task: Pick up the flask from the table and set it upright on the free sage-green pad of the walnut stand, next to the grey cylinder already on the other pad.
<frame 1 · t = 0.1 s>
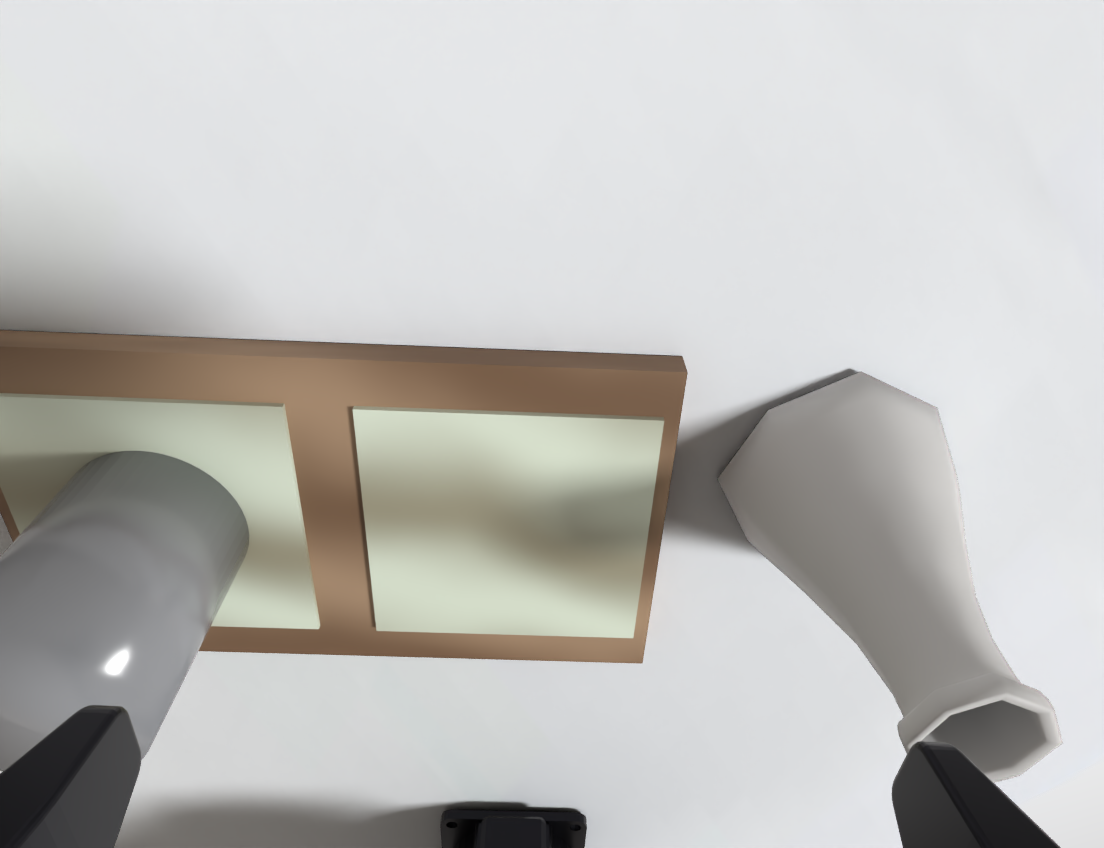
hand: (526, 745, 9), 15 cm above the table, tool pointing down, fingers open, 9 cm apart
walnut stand: (342, 506, 25), on the table
grey cylinder: (158, 524, 24), point 1 cm above the table, touching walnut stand
flask: (832, 468, 25), on the table
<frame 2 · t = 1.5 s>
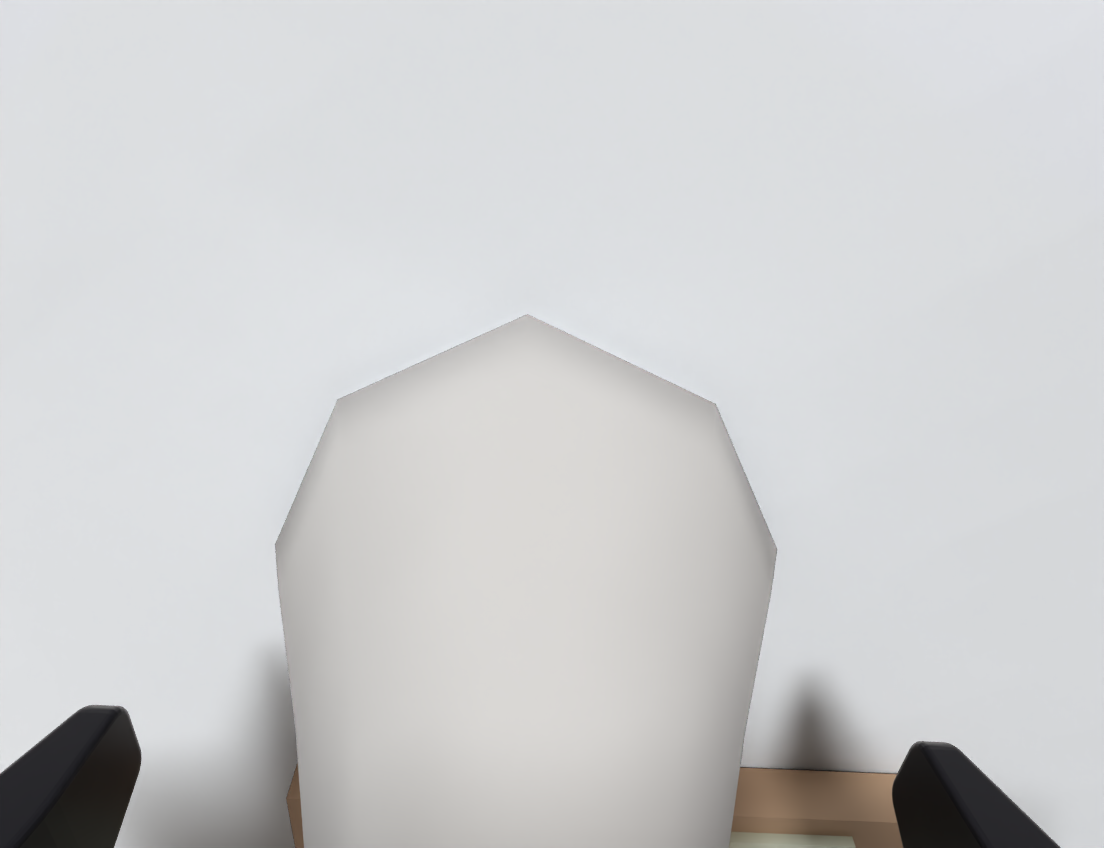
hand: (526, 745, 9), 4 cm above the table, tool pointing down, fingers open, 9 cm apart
flask: (527, 526, 12), on the table
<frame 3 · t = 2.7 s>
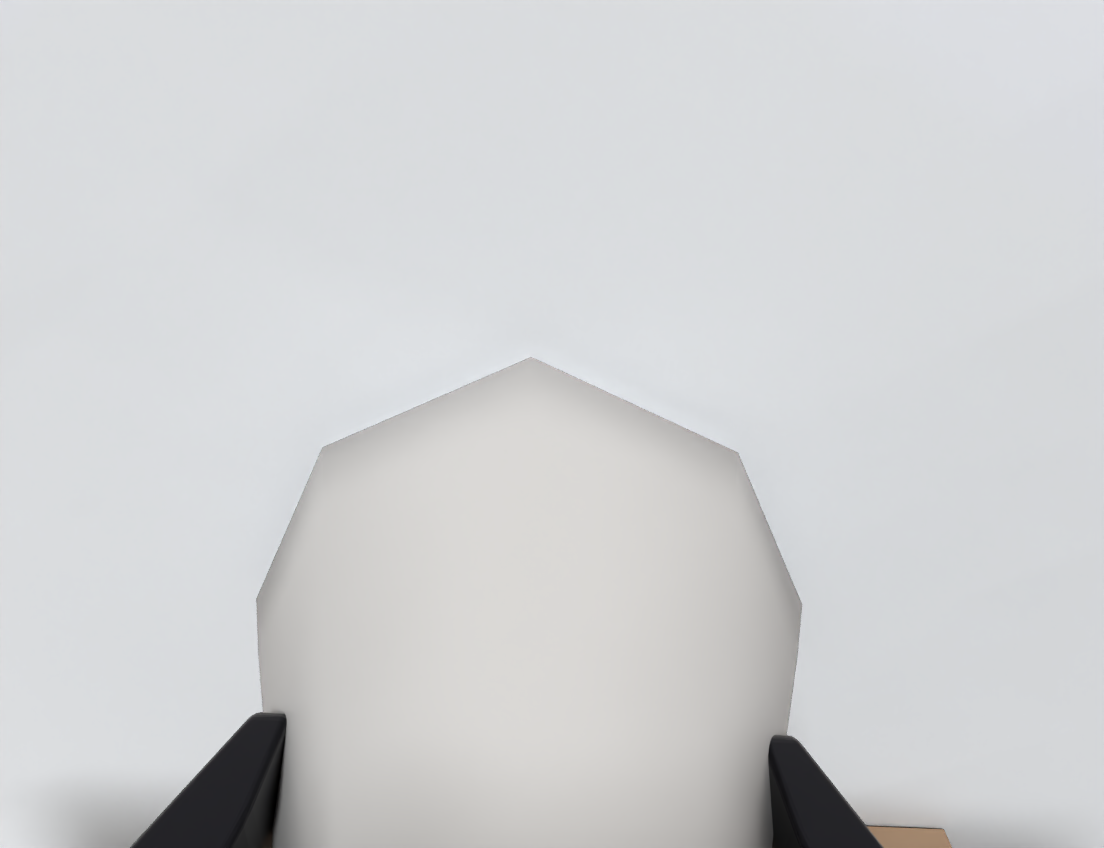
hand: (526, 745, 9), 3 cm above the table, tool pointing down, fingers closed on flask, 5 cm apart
flask: (531, 577, 11), on the table, touching gripper
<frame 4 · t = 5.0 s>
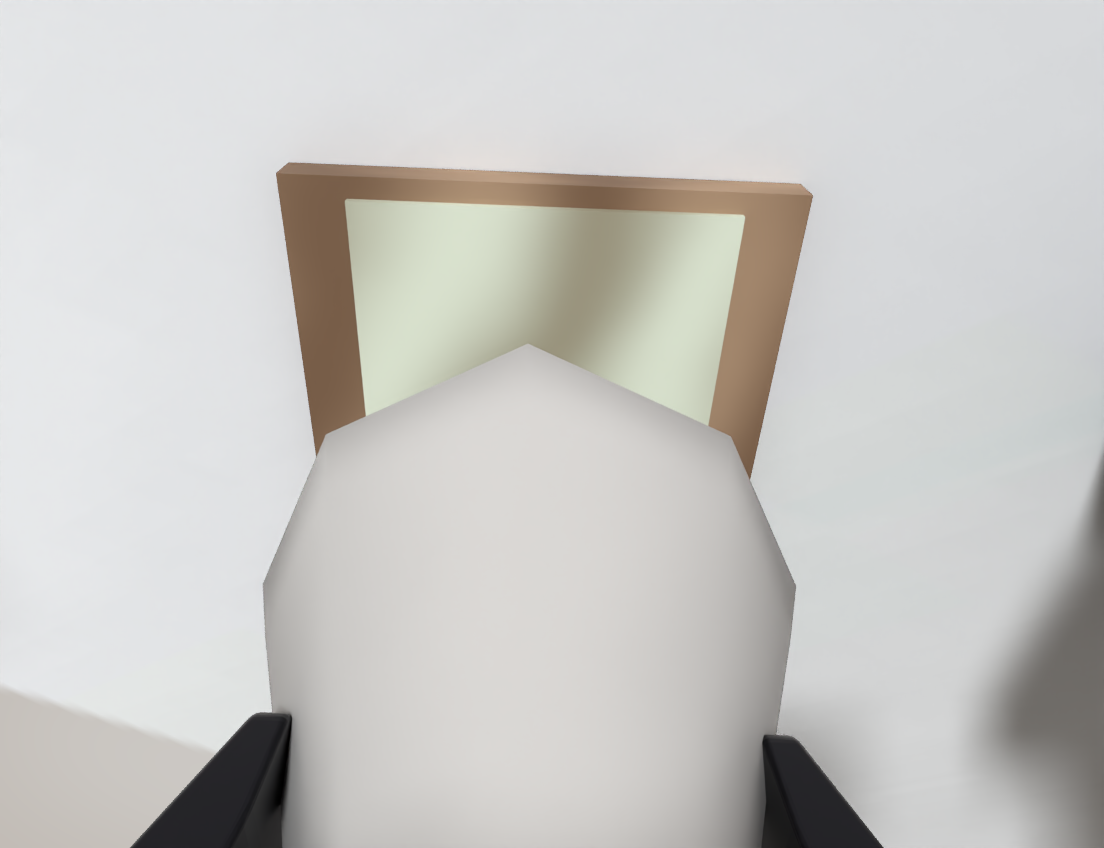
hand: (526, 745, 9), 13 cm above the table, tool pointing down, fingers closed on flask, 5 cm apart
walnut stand: (533, 523, 23), on the table
flask: (530, 562, 11), point 10 cm above the table, touching gripper
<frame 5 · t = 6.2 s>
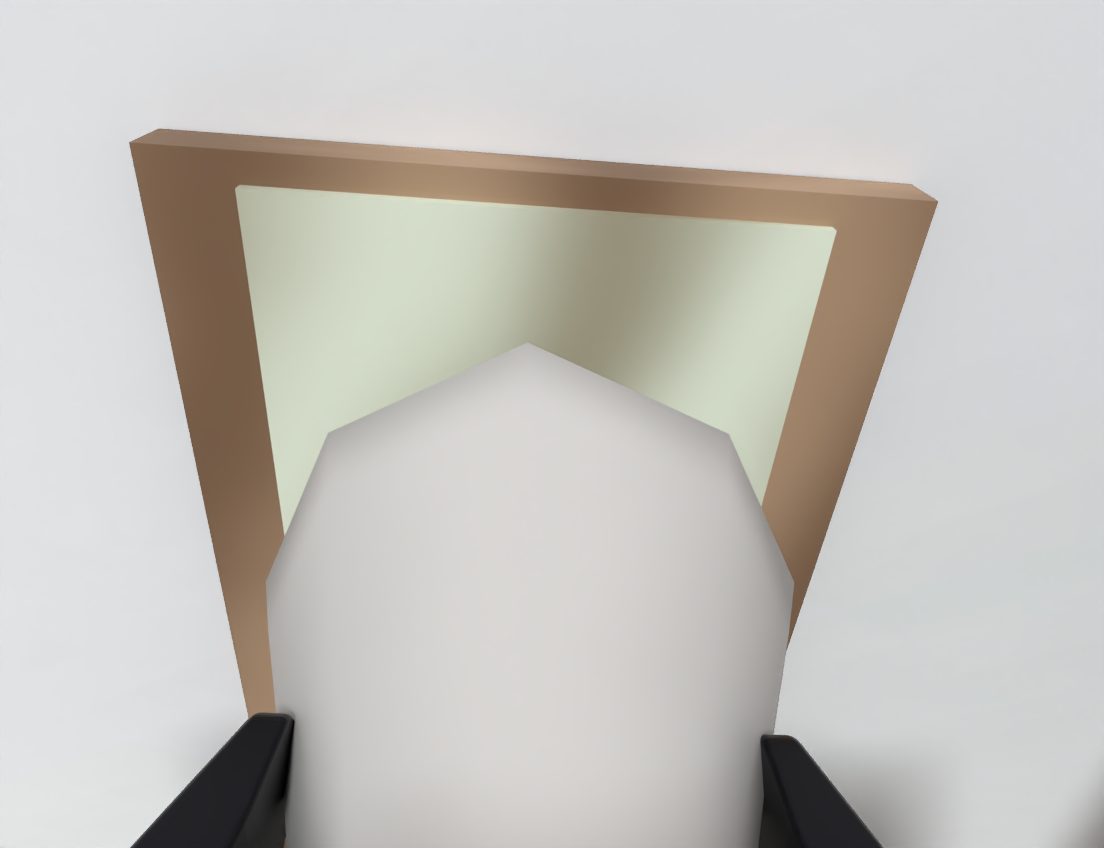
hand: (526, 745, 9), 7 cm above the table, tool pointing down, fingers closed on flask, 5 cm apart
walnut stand: (512, 625, 18), on the table
flask: (531, 559, 12), point 4 cm above the table, touching gripper
when the fingers open (5 cm above the table, at t = 7.4 s): flask stays where it is, resting on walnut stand.
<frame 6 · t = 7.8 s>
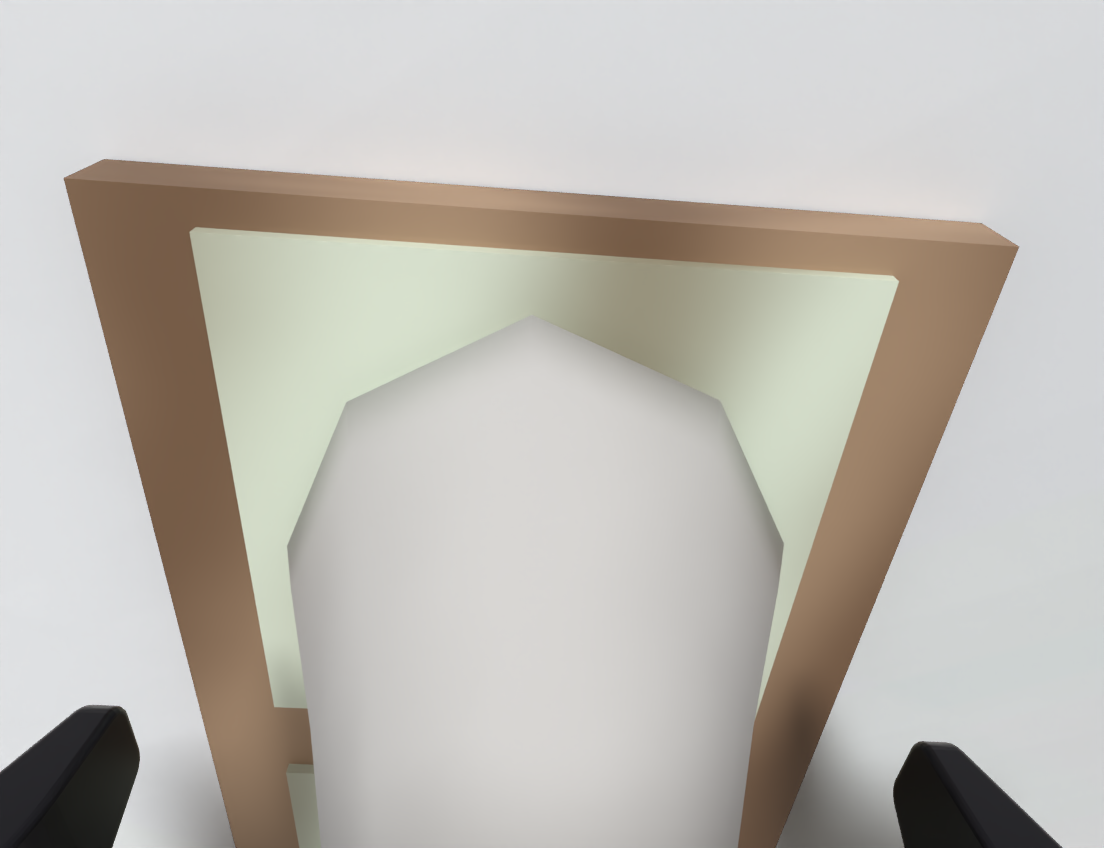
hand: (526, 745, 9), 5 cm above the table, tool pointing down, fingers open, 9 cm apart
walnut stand: (516, 699, 16), on the table
flask: (536, 525, 12), point 1 cm above the table, touching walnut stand
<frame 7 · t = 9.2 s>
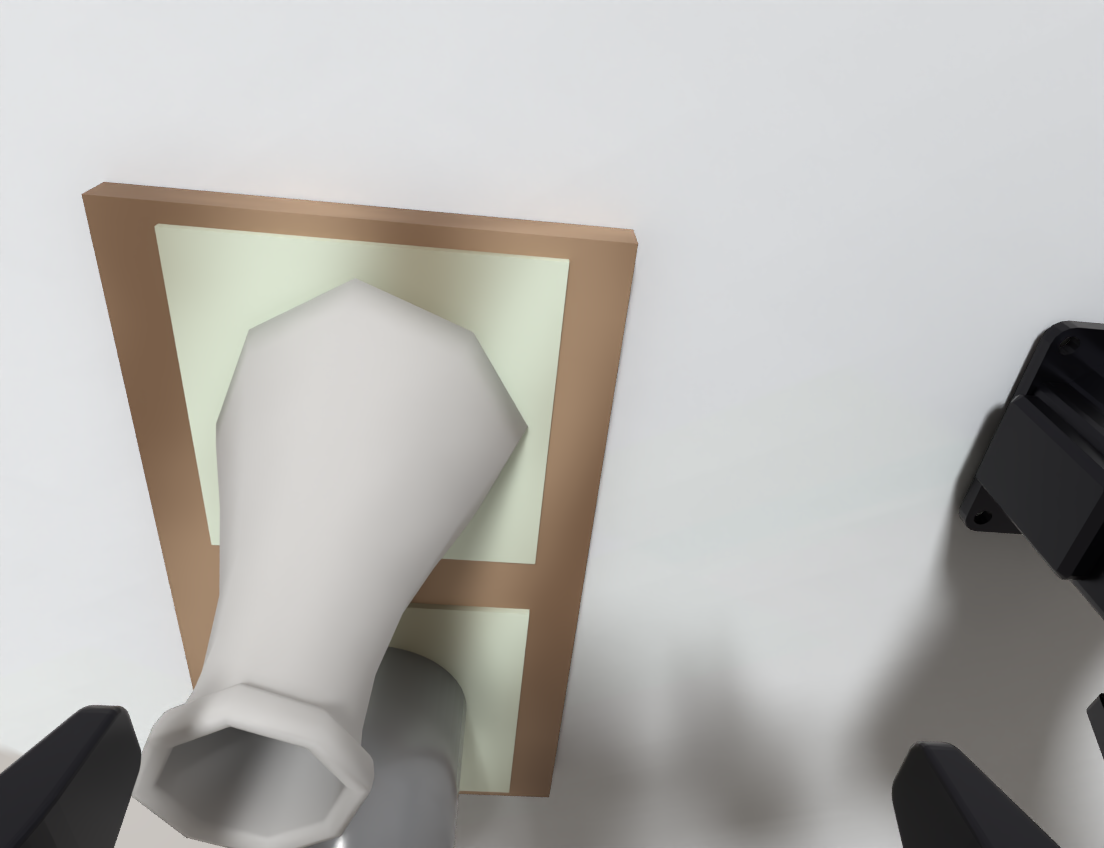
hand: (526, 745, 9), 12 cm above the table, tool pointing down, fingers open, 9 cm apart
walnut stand: (383, 552, 23), on the table
grey cylinder: (380, 705, 25), point 1 cm above the table, touching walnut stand
flask: (376, 415, 19), point 1 cm above the table, touching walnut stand
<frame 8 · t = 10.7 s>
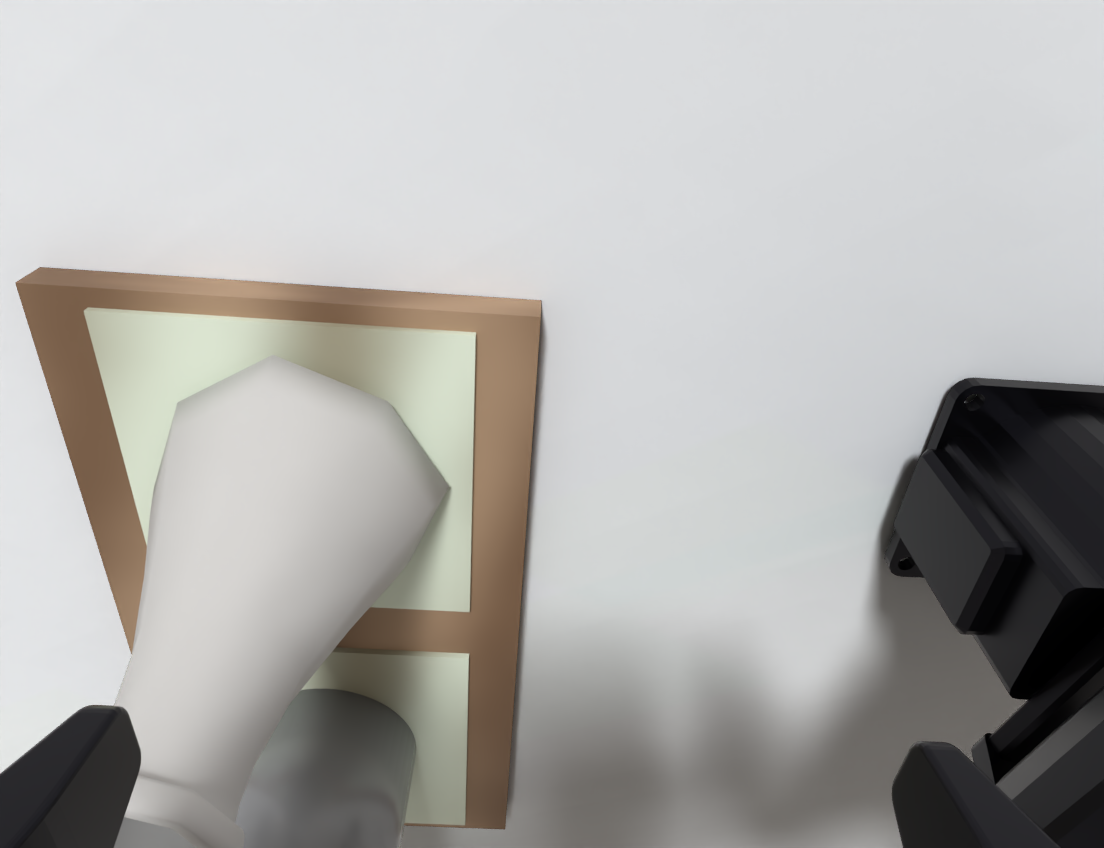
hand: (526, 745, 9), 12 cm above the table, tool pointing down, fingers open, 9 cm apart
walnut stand: (329, 599, 24), on the table
grey cylinder: (333, 743, 26), point 1 cm above the table, touching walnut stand
flask: (306, 476, 20), point 1 cm above the table, touching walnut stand
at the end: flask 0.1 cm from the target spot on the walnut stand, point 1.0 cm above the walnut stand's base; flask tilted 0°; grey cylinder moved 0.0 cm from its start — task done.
